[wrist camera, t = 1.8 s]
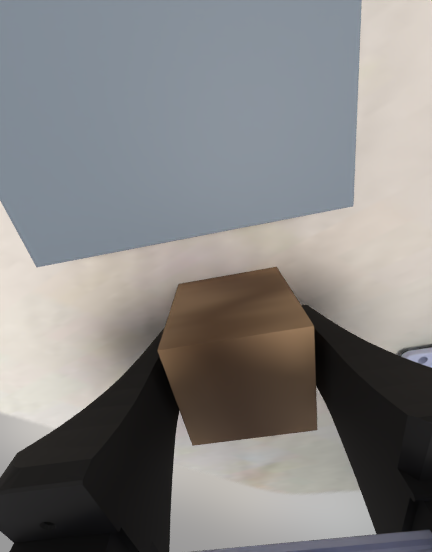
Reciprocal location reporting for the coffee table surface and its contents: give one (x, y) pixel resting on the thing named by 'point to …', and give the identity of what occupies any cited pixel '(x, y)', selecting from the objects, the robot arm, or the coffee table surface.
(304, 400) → the walnut cube
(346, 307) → the coffee table surface
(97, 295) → the coffee table surface
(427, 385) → the robot arm
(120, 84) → the slate block
